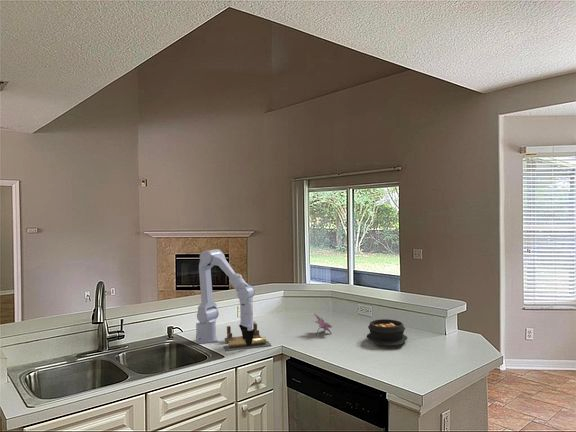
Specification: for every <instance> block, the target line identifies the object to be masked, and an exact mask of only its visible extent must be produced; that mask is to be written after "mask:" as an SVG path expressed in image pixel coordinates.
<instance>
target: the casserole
mask: <svg viewBox="0 0 576 432" xmlns="http://www.w3.org/2000/svg"><path fill="white" fill-rule="evenodd" d="M367 329H368V330H369V333H367V335H366V338H367V339H368V340H369V341H372V342H373V343H375V344H377V345H381V346H391V347H392V346H401V345H403V344H404V343H405V341H407V340H408V336H407V335H405V334H404V331H406V327H405V326H404V323H403V322H402V321H399V320H395V319H386V318H383V319H375V320H372V321H370V323H369V325H368V326H367Z"/></svg>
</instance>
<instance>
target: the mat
mask: <svg viewBox="0 0 576 432" xmlns="http://www.w3.org/2000/svg"><path fill="white" fill-rule="evenodd" d="M222 347H223V349H224V351H225V352H231V351H233V352H234V351H239V350H241V351H242V350H249V349H257V348H265V347H266V348H267V347H272V344H271V343H270V341H268V340H266V344H259V345H250V346H241V347H232V348H229V345H228V344H226V345H223V346H222Z"/></svg>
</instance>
